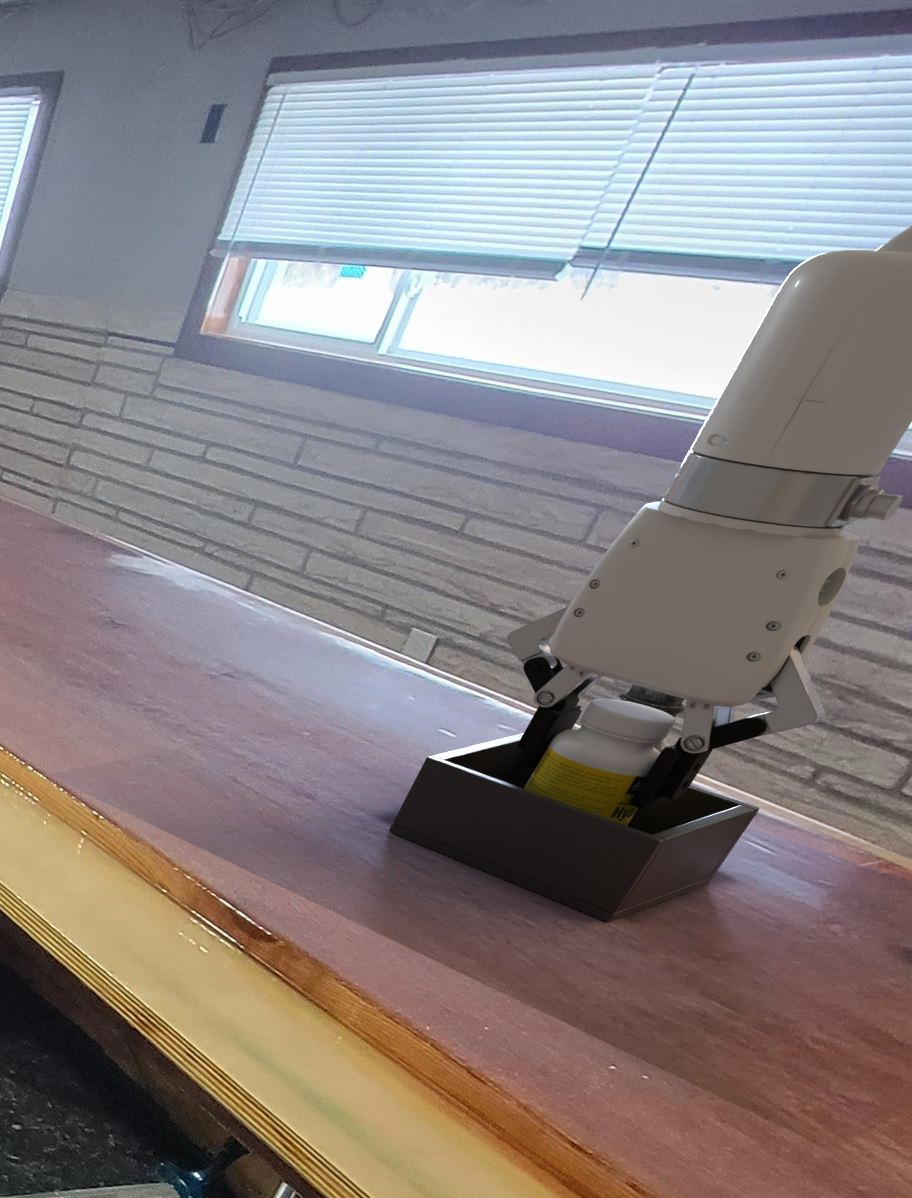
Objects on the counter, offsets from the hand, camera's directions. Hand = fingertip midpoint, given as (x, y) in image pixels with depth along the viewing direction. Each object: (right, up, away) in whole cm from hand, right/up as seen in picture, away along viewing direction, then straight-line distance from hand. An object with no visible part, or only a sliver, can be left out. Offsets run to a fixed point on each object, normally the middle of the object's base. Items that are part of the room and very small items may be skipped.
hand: (590, 780), depth 77 cm
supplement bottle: (0, -4, +3) cm, 5 cm away
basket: (0, -5, +3) cm, 6 cm away
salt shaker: (+12, 0, +12) cm, 17 cm away
